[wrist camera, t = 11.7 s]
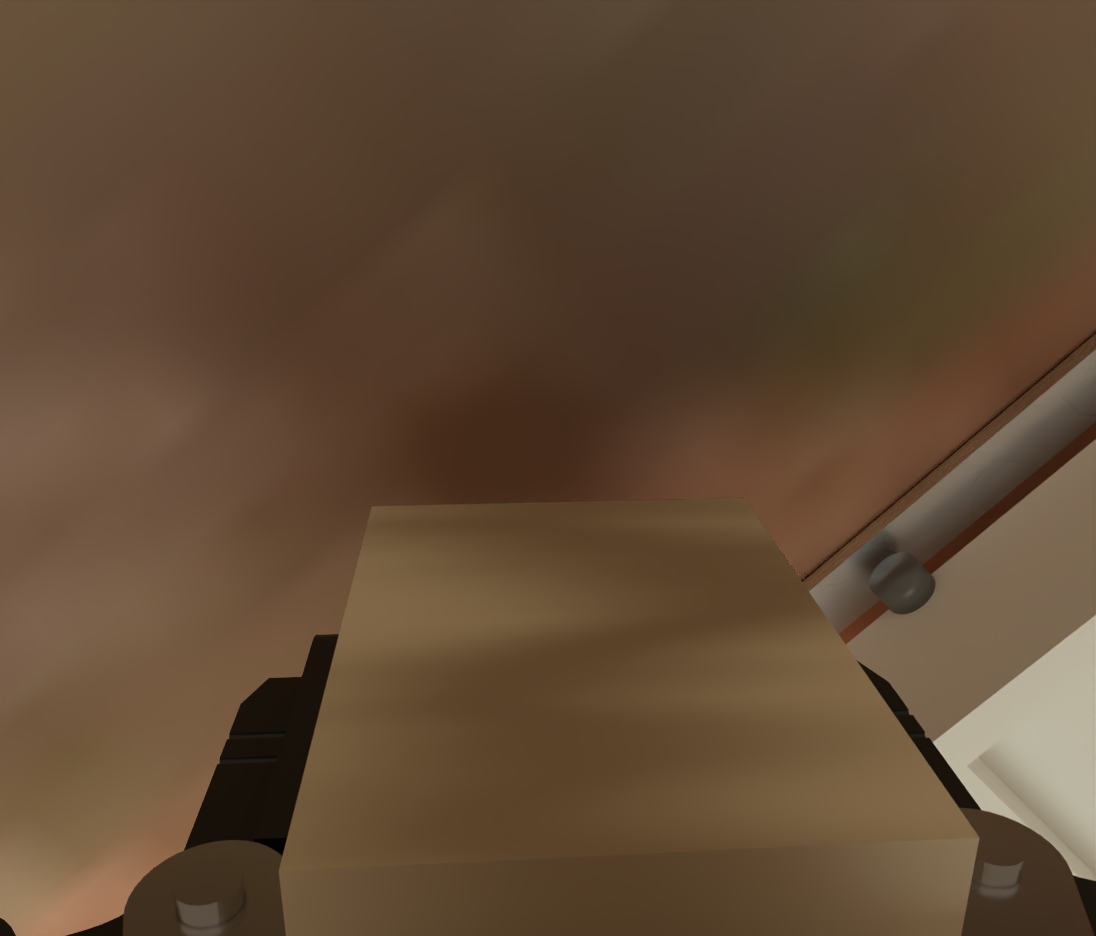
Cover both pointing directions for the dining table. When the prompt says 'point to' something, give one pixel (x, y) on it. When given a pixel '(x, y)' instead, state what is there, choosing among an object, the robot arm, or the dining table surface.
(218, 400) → the dining table surface
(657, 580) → the block
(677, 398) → the dining table surface
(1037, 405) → the track
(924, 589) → the shallow white tray
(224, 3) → the dining table surface
